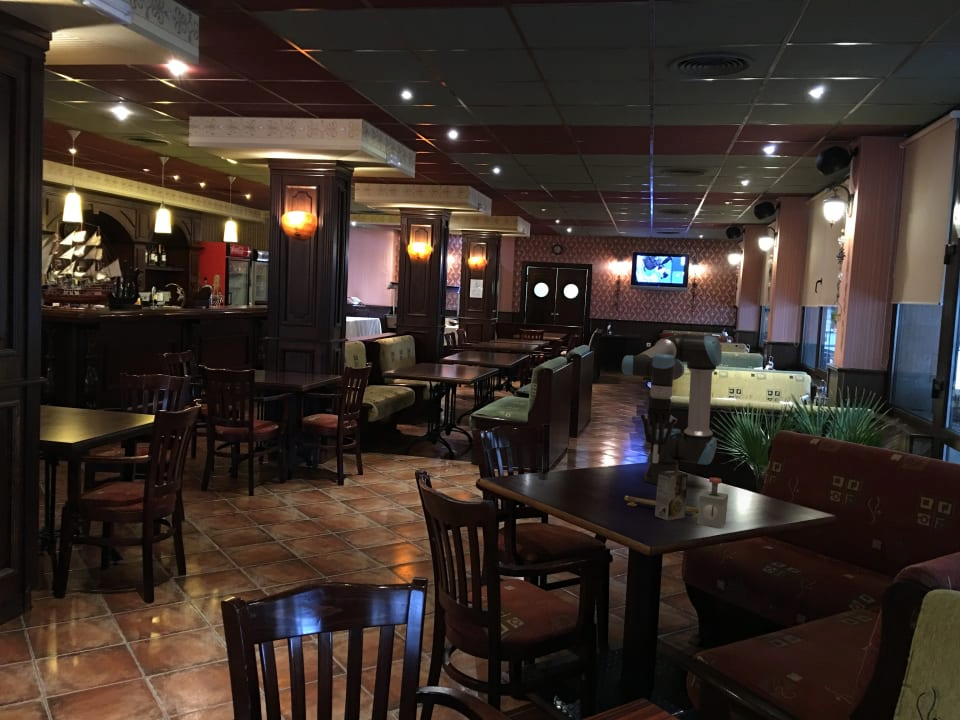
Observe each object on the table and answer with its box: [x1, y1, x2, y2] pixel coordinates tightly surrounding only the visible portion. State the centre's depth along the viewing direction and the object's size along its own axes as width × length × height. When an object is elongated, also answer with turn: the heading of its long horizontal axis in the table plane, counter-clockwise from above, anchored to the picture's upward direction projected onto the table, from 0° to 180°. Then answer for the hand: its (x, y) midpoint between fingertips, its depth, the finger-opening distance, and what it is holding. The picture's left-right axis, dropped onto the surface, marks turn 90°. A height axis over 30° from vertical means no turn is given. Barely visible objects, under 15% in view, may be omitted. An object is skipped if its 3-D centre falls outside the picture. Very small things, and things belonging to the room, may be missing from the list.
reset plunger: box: [709, 477, 722, 494], centre depth 264 cm, size 4×4×5 cm
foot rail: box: [624, 495, 699, 518], centre depth 278 cm, size 30×2×3 cm, turn 63°
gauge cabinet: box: [697, 490, 729, 529], centre depth 264 cm, size 11×8×10 cm
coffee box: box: [654, 470, 689, 521], centre depth 269 cm, size 9×6×16 cm
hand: (655, 462), depth 272 cm, fingers closed
